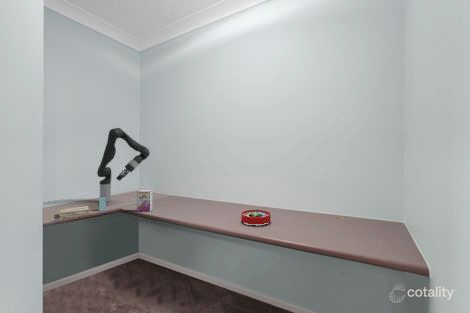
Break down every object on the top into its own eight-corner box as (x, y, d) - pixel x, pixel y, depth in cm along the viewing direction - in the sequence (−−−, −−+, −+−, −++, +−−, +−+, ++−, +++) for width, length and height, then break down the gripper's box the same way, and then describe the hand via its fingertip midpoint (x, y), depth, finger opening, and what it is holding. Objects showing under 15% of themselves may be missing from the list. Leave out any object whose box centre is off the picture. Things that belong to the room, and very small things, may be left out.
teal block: (99, 209, 191) (98, 197, 191) (105, 209, 194) (104, 197, 194) (99, 210, 188) (99, 198, 188) (105, 210, 190) (105, 198, 190)
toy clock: (244, 209, 171) (271, 210, 166) (244, 216, 171) (271, 218, 166) (238, 216, 151) (268, 218, 146) (238, 225, 152) (268, 227, 147)
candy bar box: (136, 211, 187) (136, 191, 186) (139, 209, 192) (139, 190, 191) (149, 211, 185) (149, 191, 185) (152, 210, 190) (152, 190, 190)
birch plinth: (60, 214, 178) (60, 209, 178) (87, 210, 188) (87, 205, 188) (59, 218, 167) (59, 213, 166) (88, 214, 177) (88, 209, 177)
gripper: (127, 162, 208) (113, 176, 201) (130, 163, 196) (115, 177, 190) (133, 168, 211) (119, 181, 205) (137, 168, 199) (122, 183, 193)
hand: (117, 179), depth 197 cm, fingers open, 8 cm apart
